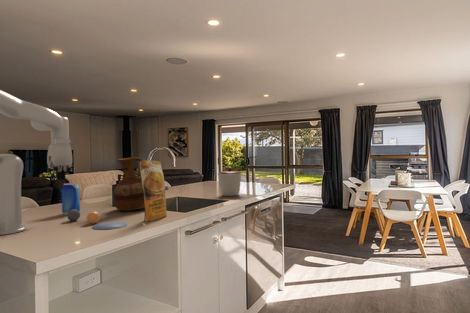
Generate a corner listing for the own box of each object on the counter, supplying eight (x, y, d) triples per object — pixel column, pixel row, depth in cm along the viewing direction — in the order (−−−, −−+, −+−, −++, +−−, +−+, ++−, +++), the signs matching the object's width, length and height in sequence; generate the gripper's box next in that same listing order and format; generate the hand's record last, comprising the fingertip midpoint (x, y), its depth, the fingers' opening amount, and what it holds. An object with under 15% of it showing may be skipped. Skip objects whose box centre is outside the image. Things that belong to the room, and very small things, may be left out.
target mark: (116, 230, 121) (116, 229, 121) (84, 229, 123) (84, 229, 123) (133, 222, 135) (133, 222, 135) (104, 222, 137) (104, 221, 137)
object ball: (95, 225, 131) (95, 212, 131) (83, 224, 132) (83, 212, 132) (102, 222, 136) (102, 210, 136) (91, 222, 137) (91, 210, 137)
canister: (246, 194, 225) (246, 166, 225) (233, 197, 210) (233, 167, 210) (226, 193, 235) (226, 166, 235) (213, 196, 219) (212, 167, 219)
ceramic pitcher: (107, 210, 168) (107, 157, 168) (140, 205, 183) (139, 156, 183) (124, 214, 155) (123, 156, 155) (158, 208, 170) (157, 156, 170)
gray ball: (75, 222, 138) (75, 210, 138) (64, 222, 138) (64, 210, 138) (82, 219, 143) (82, 208, 143) (72, 219, 144) (72, 208, 144)
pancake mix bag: (135, 222, 136) (134, 160, 136) (160, 214, 153) (159, 159, 153) (147, 223, 133) (145, 160, 133) (171, 215, 151) (170, 159, 151)
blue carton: (83, 212, 163) (82, 182, 163) (73, 215, 155) (73, 184, 155) (69, 212, 164) (68, 183, 164) (58, 215, 156) (57, 184, 156)
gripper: (70, 143, 154) (71, 178, 154) (39, 141, 140) (39, 181, 140) (79, 142, 150) (80, 179, 150) (48, 141, 137) (49, 181, 137)
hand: (60, 179), depth 145 cm, fingers closed
